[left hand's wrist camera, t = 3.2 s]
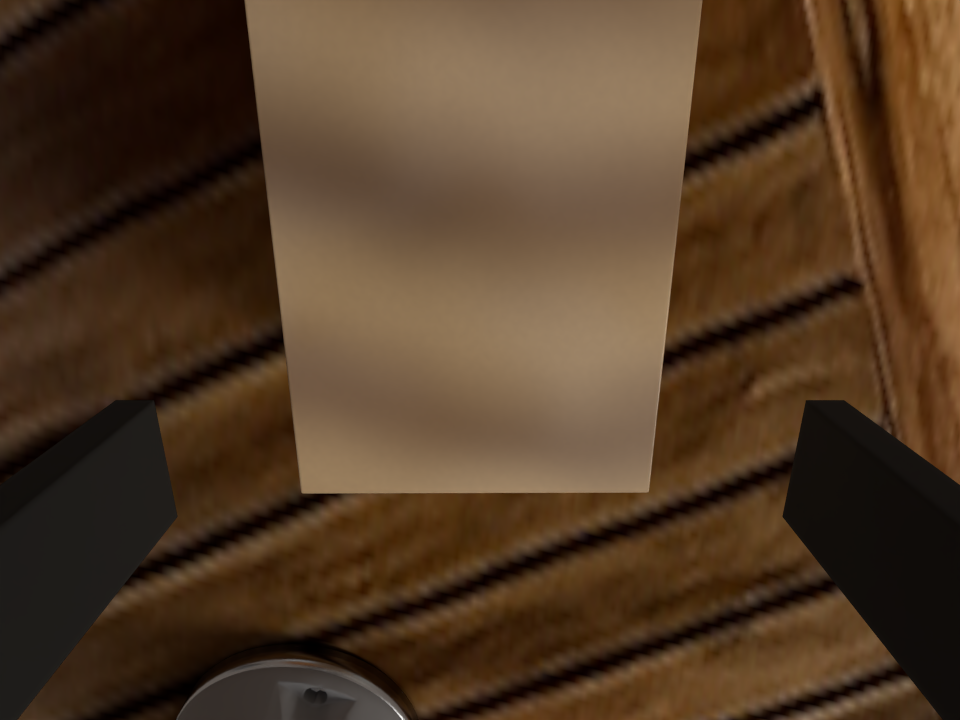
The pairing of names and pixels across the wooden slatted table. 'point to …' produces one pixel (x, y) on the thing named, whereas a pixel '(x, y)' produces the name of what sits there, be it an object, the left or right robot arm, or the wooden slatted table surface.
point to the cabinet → (474, 235)
